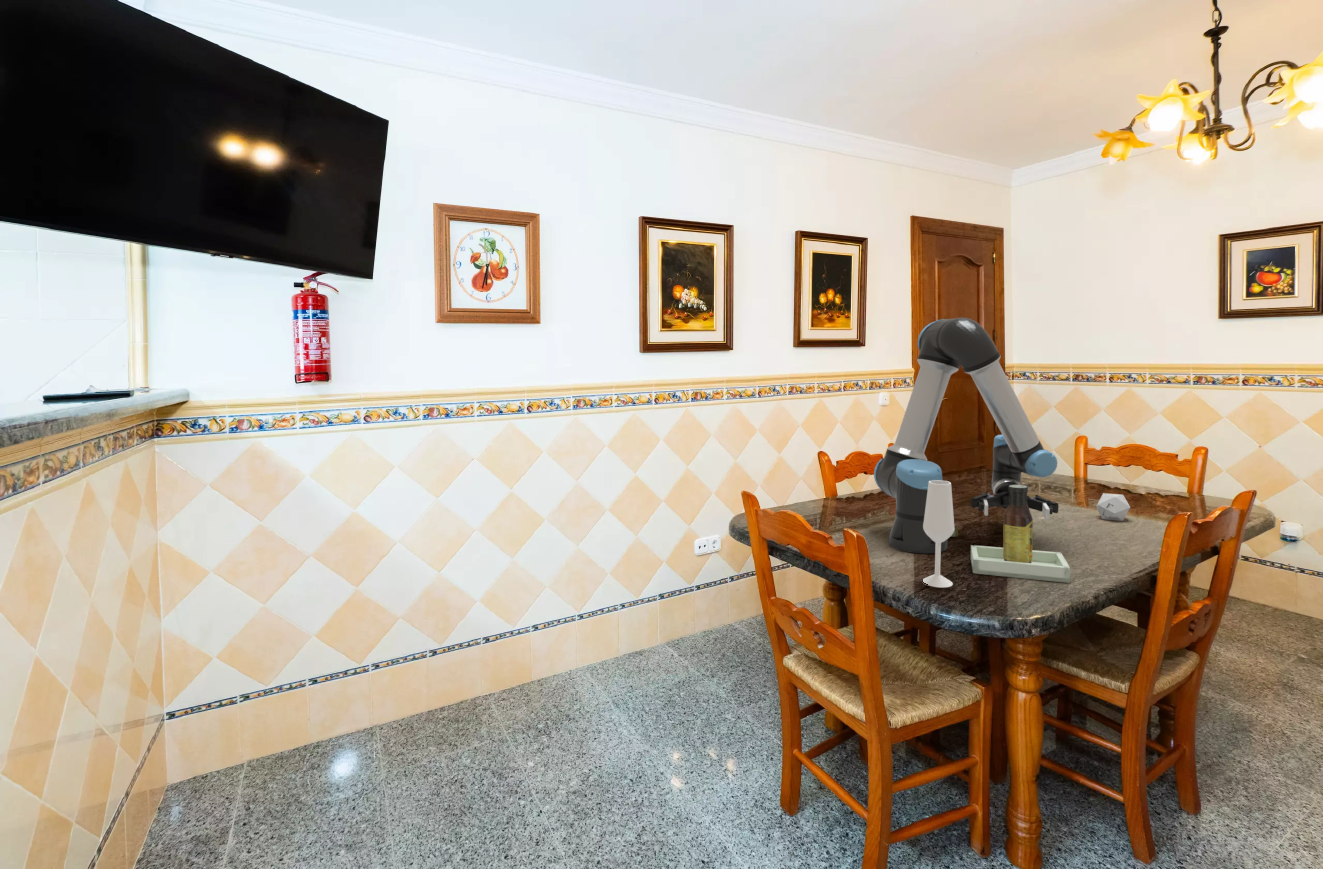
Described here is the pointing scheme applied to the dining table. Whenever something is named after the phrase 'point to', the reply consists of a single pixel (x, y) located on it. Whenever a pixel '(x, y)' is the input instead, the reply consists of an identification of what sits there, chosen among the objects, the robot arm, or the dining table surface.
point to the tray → (1020, 565)
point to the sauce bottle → (1018, 527)
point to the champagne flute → (938, 524)
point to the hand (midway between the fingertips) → (1016, 512)
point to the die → (1113, 507)
